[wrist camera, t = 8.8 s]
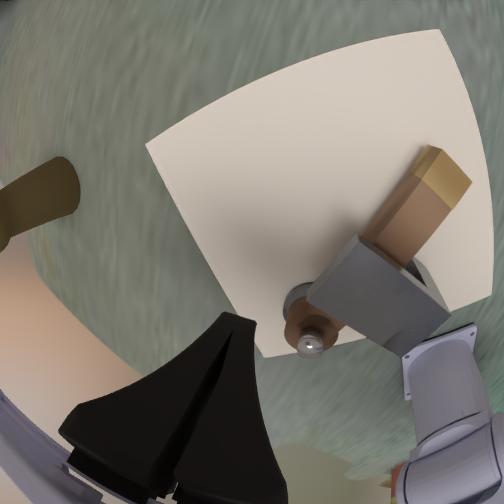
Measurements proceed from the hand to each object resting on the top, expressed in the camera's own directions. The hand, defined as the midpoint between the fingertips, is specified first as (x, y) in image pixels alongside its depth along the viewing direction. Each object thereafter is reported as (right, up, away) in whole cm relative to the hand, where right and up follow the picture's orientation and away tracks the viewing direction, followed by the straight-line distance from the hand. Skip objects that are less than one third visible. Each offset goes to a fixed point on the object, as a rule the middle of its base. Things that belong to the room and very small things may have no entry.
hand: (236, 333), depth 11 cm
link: (+8, +3, +5) cm, 10 cm away
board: (+7, +6, +6) cm, 11 cm away
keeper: (+7, +1, +8) cm, 10 cm away
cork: (-18, +10, +11) cm, 23 cm away
